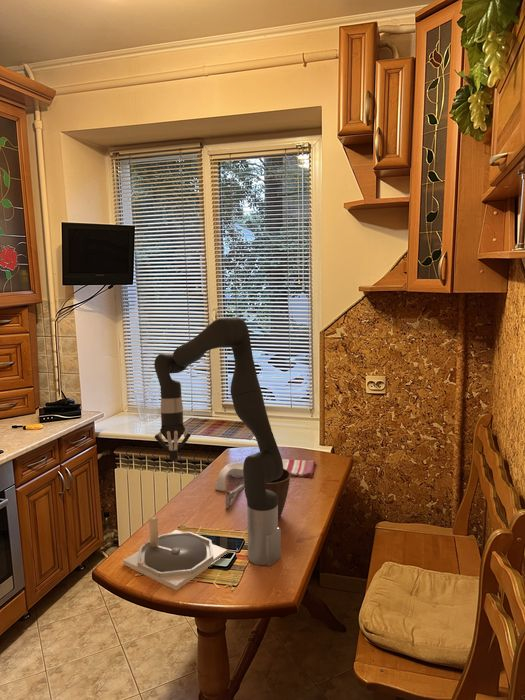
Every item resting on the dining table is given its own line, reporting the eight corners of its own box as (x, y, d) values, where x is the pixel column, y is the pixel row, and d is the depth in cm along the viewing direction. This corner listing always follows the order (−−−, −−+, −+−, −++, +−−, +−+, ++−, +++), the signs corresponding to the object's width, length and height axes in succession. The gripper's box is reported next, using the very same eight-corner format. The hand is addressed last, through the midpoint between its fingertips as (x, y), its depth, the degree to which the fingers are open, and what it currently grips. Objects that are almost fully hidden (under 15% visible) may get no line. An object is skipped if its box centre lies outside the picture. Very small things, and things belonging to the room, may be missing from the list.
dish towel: (312, 479, 216) (312, 473, 216) (257, 475, 220) (257, 469, 220) (315, 464, 233) (315, 458, 232) (264, 461, 237) (264, 455, 236)
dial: (218, 546, 161) (217, 516, 159) (184, 578, 144) (183, 545, 143) (168, 533, 169) (167, 505, 167) (131, 563, 152) (129, 531, 151)
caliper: (228, 509, 189) (228, 493, 188) (225, 509, 190) (225, 493, 189) (244, 486, 209) (244, 472, 208) (242, 486, 209) (241, 471, 208)
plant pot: (254, 530, 174) (253, 485, 171) (243, 510, 188) (243, 468, 185) (296, 524, 178) (296, 480, 175) (283, 505, 192) (282, 464, 189)
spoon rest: (232, 468, 228) (232, 452, 227) (257, 471, 224) (257, 456, 223) (207, 489, 207) (207, 472, 206) (234, 494, 202) (233, 476, 201)
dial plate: (227, 554, 159) (227, 545, 159) (176, 590, 142) (175, 580, 141) (176, 533, 172) (175, 525, 172) (123, 564, 154) (123, 555, 154)
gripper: (150, 413, 175) (153, 464, 175) (190, 411, 176) (192, 461, 176) (154, 410, 182) (156, 459, 182) (191, 408, 183) (193, 457, 183)
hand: (174, 460), depth 179 cm, fingers closed
